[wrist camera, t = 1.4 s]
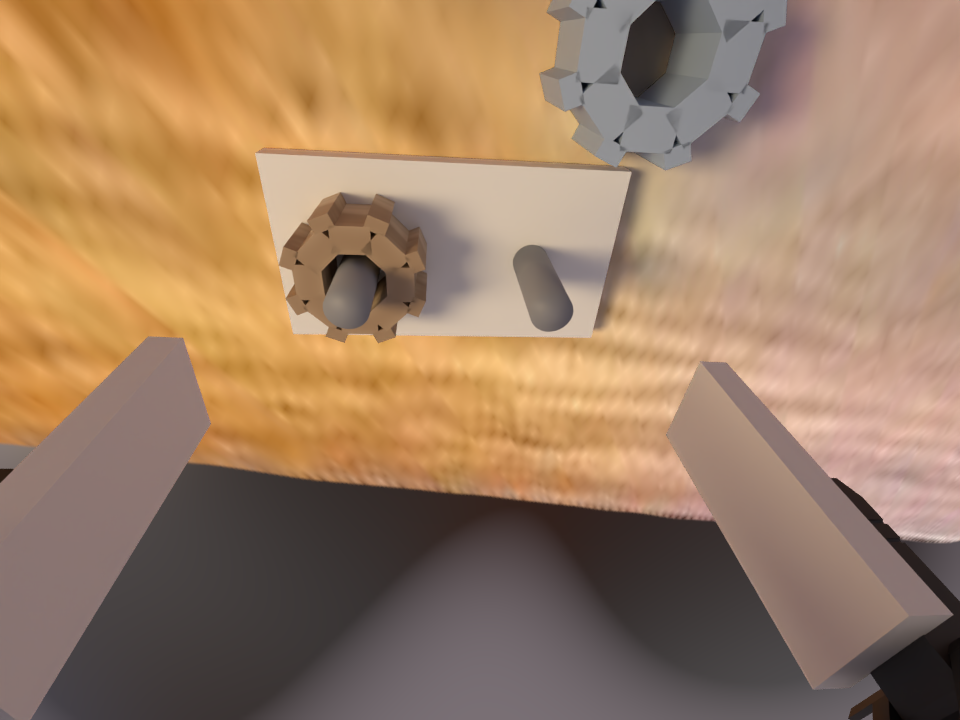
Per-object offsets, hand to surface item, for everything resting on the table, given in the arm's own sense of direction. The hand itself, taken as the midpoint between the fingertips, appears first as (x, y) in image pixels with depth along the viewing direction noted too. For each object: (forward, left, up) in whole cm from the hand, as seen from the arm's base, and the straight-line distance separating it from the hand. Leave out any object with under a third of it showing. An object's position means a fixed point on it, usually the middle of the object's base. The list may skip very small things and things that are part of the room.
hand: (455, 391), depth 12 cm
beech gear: (+4, -5, -19) cm, 20 cm away
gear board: (+4, 0, -20) cm, 21 cm away
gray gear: (-8, +10, -20) cm, 24 cm away
